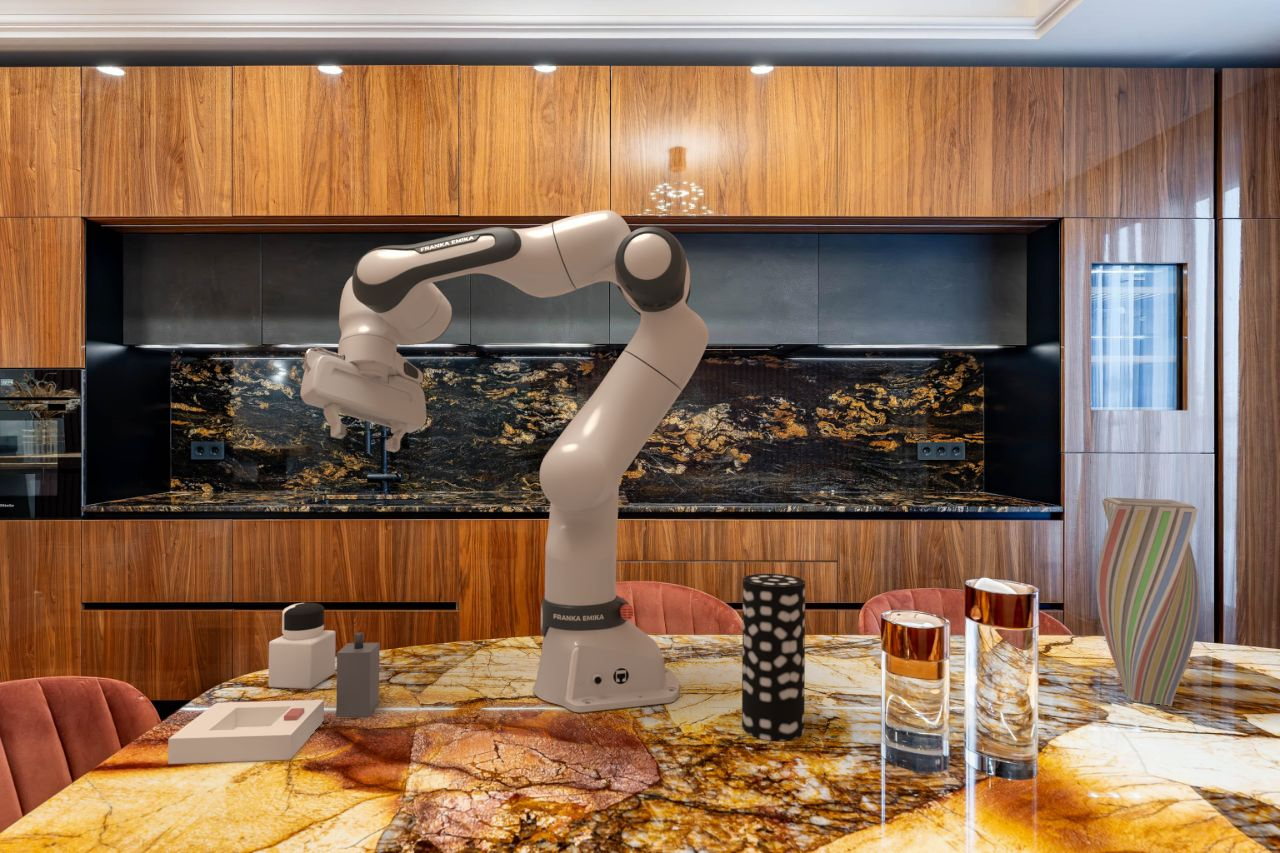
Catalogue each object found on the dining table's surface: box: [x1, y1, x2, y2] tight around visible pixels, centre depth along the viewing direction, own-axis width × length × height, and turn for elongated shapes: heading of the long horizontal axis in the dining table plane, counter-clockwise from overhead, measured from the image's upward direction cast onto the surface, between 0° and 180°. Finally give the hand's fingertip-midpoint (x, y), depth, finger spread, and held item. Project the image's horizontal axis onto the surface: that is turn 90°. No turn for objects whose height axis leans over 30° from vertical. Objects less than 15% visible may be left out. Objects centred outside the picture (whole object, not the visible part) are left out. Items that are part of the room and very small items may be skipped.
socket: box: [167, 699, 325, 765], centre depth 88 cm, size 14×11×4 cm
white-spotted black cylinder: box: [741, 573, 806, 742], centre depth 94 cm, size 8×8×20 cm
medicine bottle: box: [268, 602, 337, 690], centre depth 110 cm, size 7×7×12 cm
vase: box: [1095, 496, 1200, 707], centre depth 105 cm, size 14×14×30 cm
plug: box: [335, 631, 381, 718], centre depth 98 cm, size 4×4×11 cm
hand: (366, 443), depth 106 cm, fingers open, 8 cm apart
